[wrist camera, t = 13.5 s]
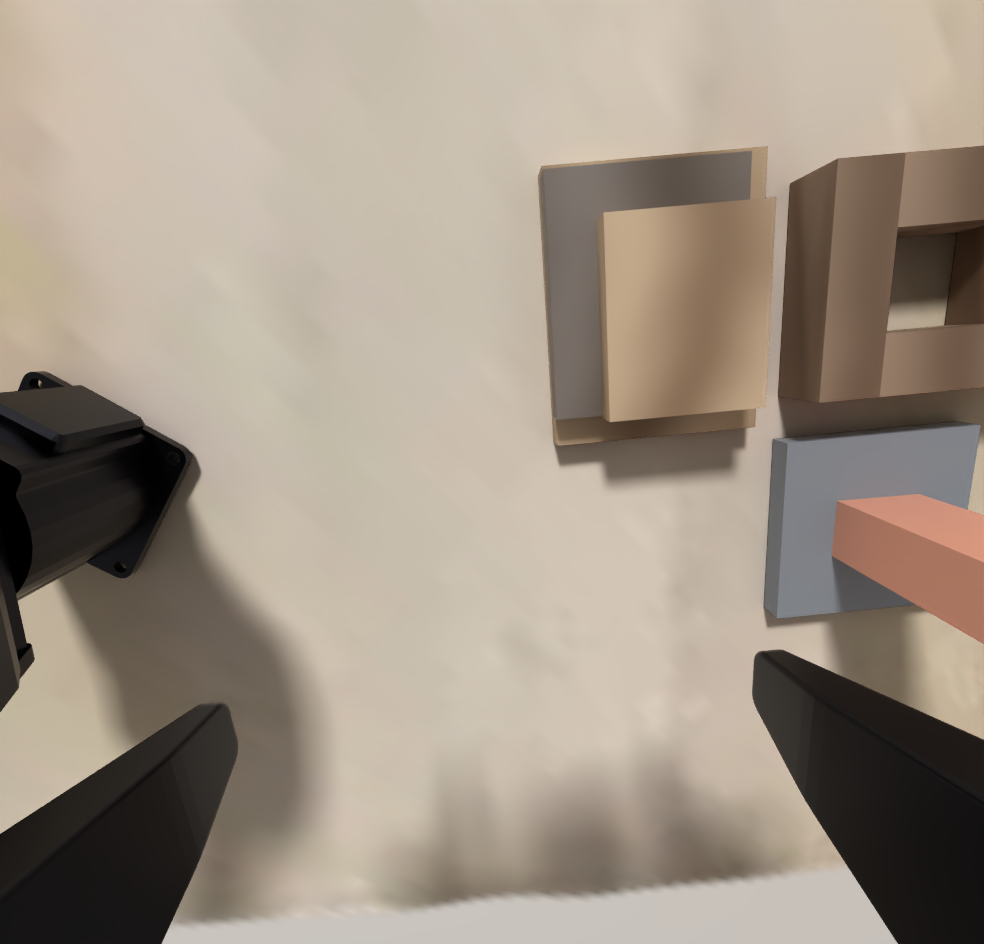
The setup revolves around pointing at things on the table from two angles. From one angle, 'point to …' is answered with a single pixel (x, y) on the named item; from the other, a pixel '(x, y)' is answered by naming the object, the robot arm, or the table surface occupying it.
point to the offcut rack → (747, 286)
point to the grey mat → (847, 476)
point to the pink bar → (918, 553)
